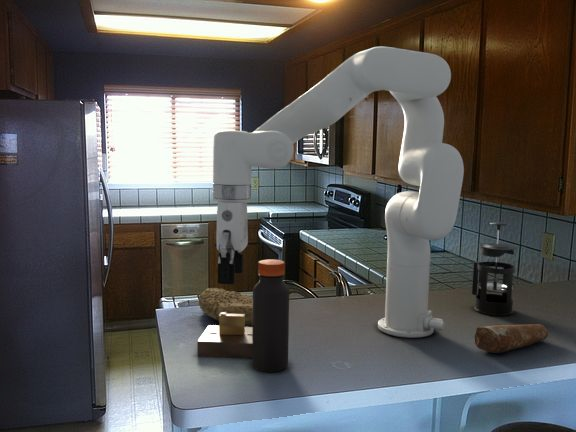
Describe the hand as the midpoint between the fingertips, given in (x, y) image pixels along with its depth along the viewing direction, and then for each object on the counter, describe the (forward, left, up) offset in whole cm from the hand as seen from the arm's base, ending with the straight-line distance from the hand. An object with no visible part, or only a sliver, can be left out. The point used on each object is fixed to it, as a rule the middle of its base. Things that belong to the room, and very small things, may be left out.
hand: (230, 277), depth 113 cm
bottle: (-12, +3, -15) cm, 19 cm away
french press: (-36, -61, -15) cm, 73 cm away
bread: (-47, -36, -15) cm, 61 cm away
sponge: (+12, -14, -15) cm, 24 cm away
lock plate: (0, 0, -15) cm, 15 cm away
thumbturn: (0, 0, -12) cm, 12 cm away
